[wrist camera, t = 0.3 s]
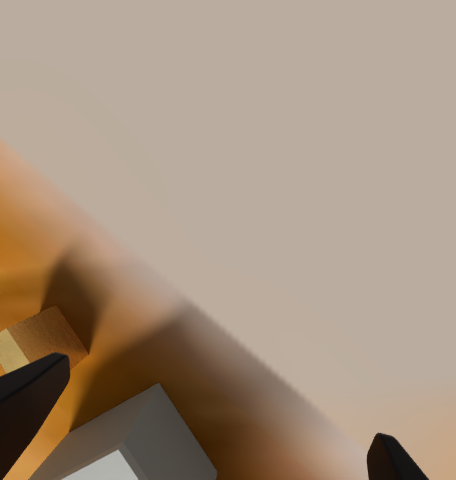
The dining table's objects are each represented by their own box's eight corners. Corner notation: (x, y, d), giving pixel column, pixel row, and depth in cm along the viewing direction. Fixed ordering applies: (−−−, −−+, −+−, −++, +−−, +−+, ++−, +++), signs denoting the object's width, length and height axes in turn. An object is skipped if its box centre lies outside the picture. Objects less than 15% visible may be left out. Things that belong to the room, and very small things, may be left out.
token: (71, 364, 26) (26, 402, 21) (39, 315, 26) (-14, 342, 21) (89, 353, 26) (47, 389, 21) (56, 304, 26) (6, 328, 21)
